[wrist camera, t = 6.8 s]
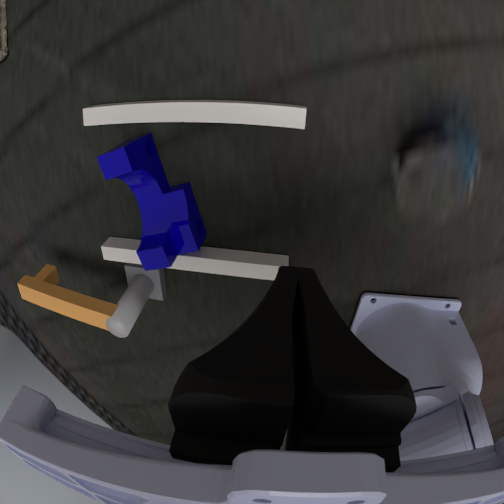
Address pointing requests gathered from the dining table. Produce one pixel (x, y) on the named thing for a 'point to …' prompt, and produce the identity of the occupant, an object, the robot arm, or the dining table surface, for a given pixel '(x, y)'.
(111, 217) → the dining table surface
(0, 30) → the washcloth
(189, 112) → the rails
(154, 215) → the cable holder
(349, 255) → the dining table surface
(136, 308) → the tan lever handle
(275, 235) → the dining table surface
